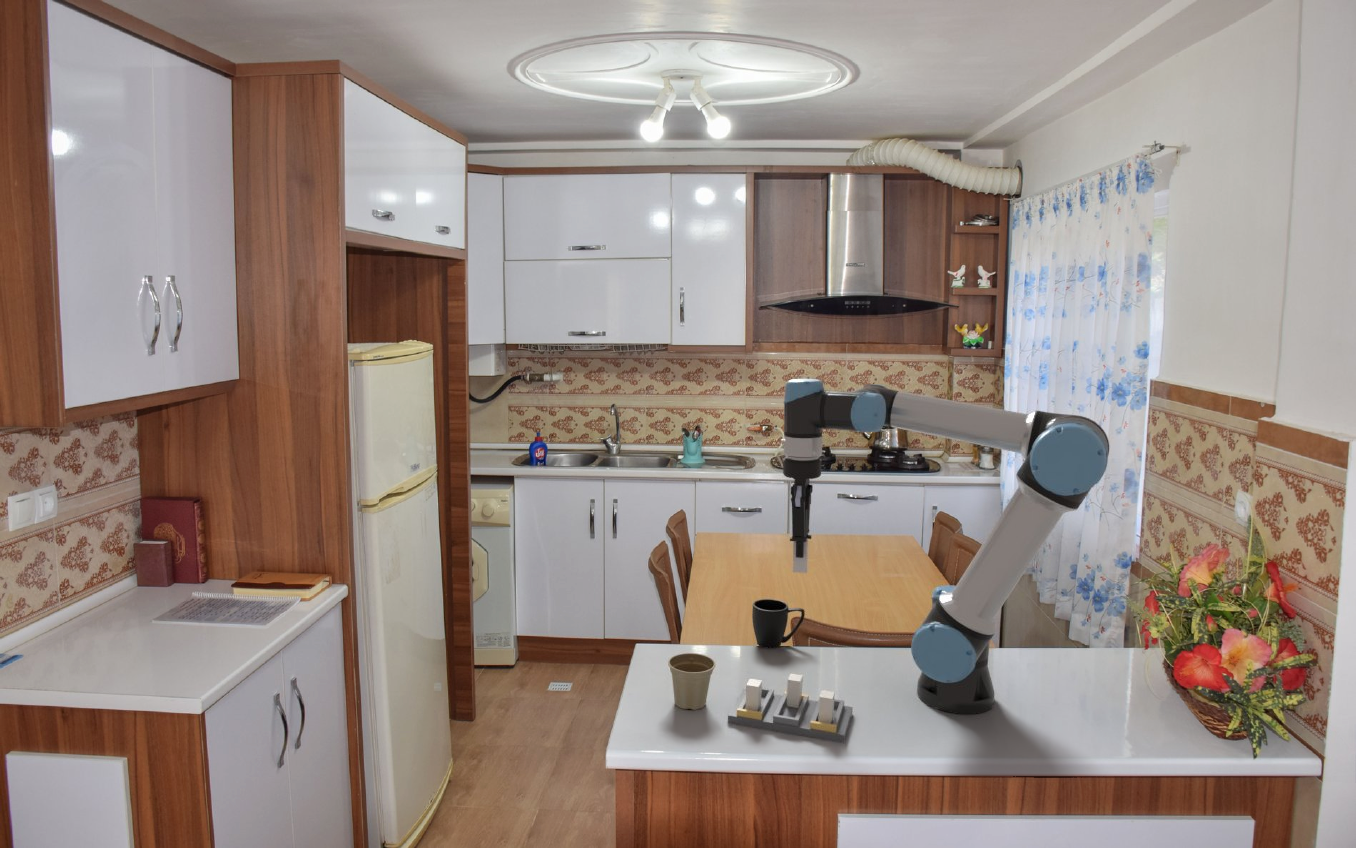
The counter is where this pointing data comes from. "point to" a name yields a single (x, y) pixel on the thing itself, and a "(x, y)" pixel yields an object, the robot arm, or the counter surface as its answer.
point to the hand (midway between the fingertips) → (800, 571)
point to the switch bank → (792, 716)
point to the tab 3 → (826, 707)
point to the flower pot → (691, 679)
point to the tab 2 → (794, 690)
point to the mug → (772, 622)
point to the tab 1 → (753, 694)
